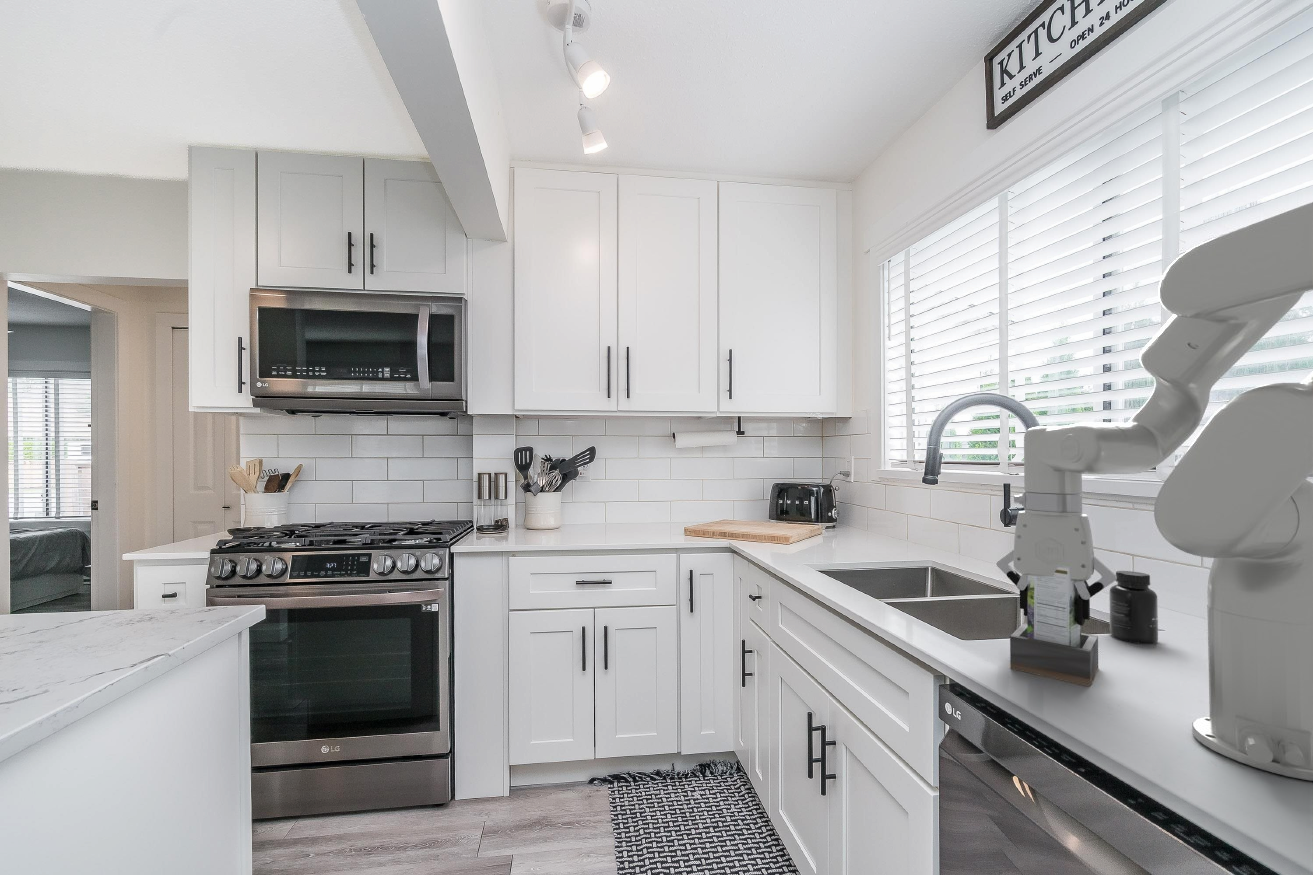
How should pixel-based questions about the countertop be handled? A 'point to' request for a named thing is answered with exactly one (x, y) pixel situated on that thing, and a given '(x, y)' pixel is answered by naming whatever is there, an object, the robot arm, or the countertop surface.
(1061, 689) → the countertop surface
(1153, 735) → the countertop surface
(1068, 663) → the socket block
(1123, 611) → the supplement bottle
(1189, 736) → the countertop surface
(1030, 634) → the syrup box
